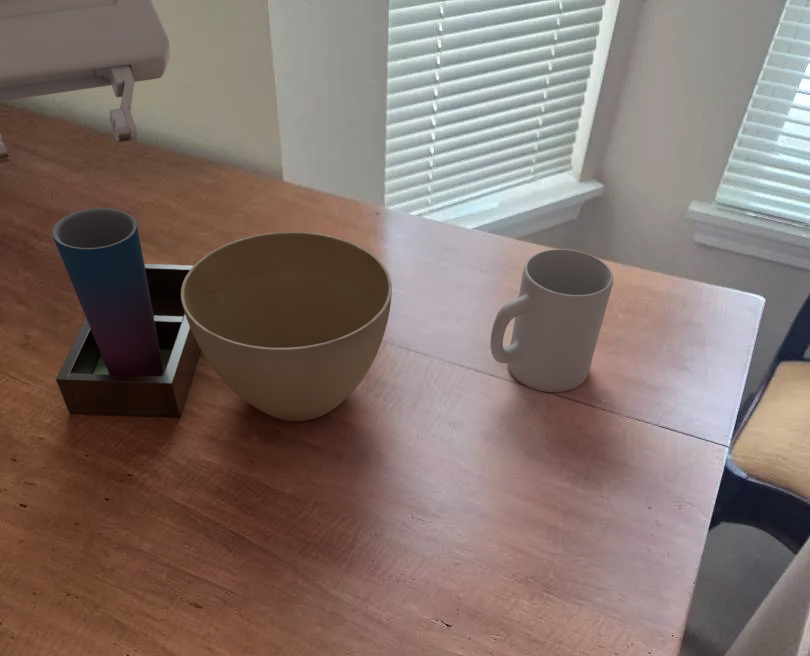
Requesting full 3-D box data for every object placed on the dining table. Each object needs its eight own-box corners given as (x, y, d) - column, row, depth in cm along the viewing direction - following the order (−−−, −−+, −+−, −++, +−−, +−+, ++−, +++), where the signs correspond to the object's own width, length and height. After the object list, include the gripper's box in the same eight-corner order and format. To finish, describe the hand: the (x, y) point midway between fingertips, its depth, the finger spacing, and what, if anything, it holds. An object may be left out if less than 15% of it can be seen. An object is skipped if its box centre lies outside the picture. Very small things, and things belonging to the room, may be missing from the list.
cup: (168, 347, 77) (133, 203, 65) (176, 388, 73) (140, 243, 61) (99, 358, 75) (50, 213, 64) (103, 400, 71) (52, 253, 60)
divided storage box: (69, 413, 71) (55, 379, 68) (122, 295, 84) (112, 262, 81) (180, 417, 71) (171, 383, 68) (216, 299, 84) (210, 265, 81)
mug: (555, 334, 82) (577, 240, 74) (605, 378, 78) (633, 283, 69) (463, 365, 78) (474, 268, 70) (509, 413, 74) (527, 316, 65)
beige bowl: (219, 337, 80) (199, 228, 70) (389, 342, 80) (392, 234, 71) (190, 456, 68) (161, 344, 59) (388, 460, 69) (391, 350, 59)
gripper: (133, -30, 61) (194, 144, 63) (-150, -3, 54) (-71, 191, 56) (135, -88, 55) (203, 106, 57) (-182, -66, 48) (-92, 153, 50)
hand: (65, 148), depth 57 cm, fingers open, 8 cm apart
